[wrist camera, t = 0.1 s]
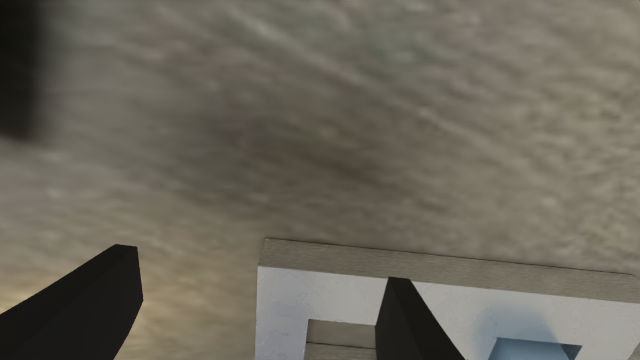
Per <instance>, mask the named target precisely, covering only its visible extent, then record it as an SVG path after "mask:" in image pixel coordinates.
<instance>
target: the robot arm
mask: <svg viewBox="0 0 640 360" xmlns="http://www.w3.org/2000/svg"><path fill="white" fill-rule="evenodd" d="M142 302H143V293H142V284H141V276H140V267H139V259H138V251H137V247H136V246H127V245H119V244H115V245H113V246H111V247H110V248H108V249H106V250H105V251H103V252H102V253H100V254H98V255H97V256H95V257H94V258H92V259H91V260H89V261H88V262H86V263H84V264H83V265H81V266H80V267H78V268H77V269H75V270H74V271H72V272H70V273H69V274H67V275H66V276H64V277H62V278H61V279H59V280H58V281H56V282H54V283H53V284H51V285H50V286H48V287H46V288H45V289H43V290H42V291H40V292H38V293H36V294H35V295H33V296H31V297H30V298H28V299H26V300H24V301H23V302H21V303H19V304H17V305H16V306H14V307H12V308H11V309H9V310H7V311H5V312H4V313H2V314H0V360H113V359H114V358H115V356H116V354H117V353H118V351H119V349H120V348H121V346H122V344H123V343H124V341H125V339H126V337H127V336H128V334H129V332H130V330H131V327H132V325H133V323H134V321H135V319H136V316H137V314H138V312H139V309H140V307H141V305H142ZM375 337H376V359H377V360H465V358H464V357H463V356H462V354H461V353H460V352H459V350H458V349H457V348H456V346H455V345H454V344H453V342H452V341H451V339H450V338H449V337H448V335H447V334H446V332H445V331H444V330H443V328H442V327H441V325H440V324H439V323H438V321H437V320H436V318H435V317H434V315H433V314H432V312H431V311H430V309H429V308H428V306H427V305H426V303H425V302H424V300H423V298H422V297H421V295H420V294H419V292H418V291H417V289H416V288H415V286H414V284H413V283H412V282H411V280H410V279H407V278H398V277H390V276H388V280H387V284H386V288H385V292H384V295H383V299H382V303H381V307H380V310H379V314H378V318H377V322H376V326H375Z"/></svg>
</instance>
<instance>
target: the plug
mask: <svg viewBox="0 0 640 360" xmlns="http://www.w3.org/2000/svg"><path fill="white" fill-rule="evenodd" d="M488 360H569V358H568V357H567V355H566V353H565V352H564V350H563V349H562V347H561V345H560V344H559V343H552V342H542V341H532V340H521V339H511V338H501V337H498V338H497V340H496V342H495V345H494V347H493V349H492V351H491V354H490V356H489V358H488Z"/></svg>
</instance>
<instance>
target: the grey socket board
mask: <svg viewBox="0 0 640 360" xmlns="http://www.w3.org/2000/svg"><path fill="white" fill-rule="evenodd" d="M388 276H390V277H398V278H407V279H410V280H411V282H412V283H413V284H414V286H415V288H416V289H417V291H418V292H419V294H420V295H421V297H422V298H423V300H424V302H425V303H426V305H427V306H428V308H429V309H430V311H431V312H432V314H433V315H434V317H435V318H436V320H437V321H438V323H439V324H440V325H441V327H442V328H443V330H444V331H445V332H446V334H447V335H448V337H449V338H450V339H451V341H452V342H453V344H454V345H455V346H456V348H457V349H458V350H459V352H460V353H461V354H462V356H463V357H464V358H465V360H488V358H489V356H490V354H491V351H492V349H493V347H494V345H495V342H496V340H497V338H498V337H501V338H511V339H521V340H532V341H542V342H552V343H559V344H560V345H561V347H562V349H563V350H564V352H565V353H566V355H567V357H568V358H569V360H627V359H628V358H629V357H630V355H631V354H632V352H633V351H634V349H635V348H636V346H637V345H638V344H639V342H640V282H639V281H638V280H637V279H636V278H635V277H634V276H633V275H628V274H618V273H608V272H598V271H588V270H578V269H568V268H558V267H548V266H538V265H528V264H518V263H508V262H498V261H488V260H478V259H468V258H458V257H448V256H438V255H428V254H419V253H409V252H399V251H389V250H379V249H369V248H359V247H349V246H339V245H329V244H319V243H309V242H299V241H289V240H279V239H269V238H265V241H264V245H263V248H262V252H261V256H260V260H259V263H258V275H257V307H256V340H255V360H377V359H376V349H366V348H355V347H345V346H335V345H324V344H314V343H306V336H307V327H308V319H315V320H326V321H336V322H346V323H357V324H367V325H376V322H377V318H378V314H379V310H380V307H381V303H382V299H383V295H384V292H385V288H386V284H387V280H388Z"/></svg>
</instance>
